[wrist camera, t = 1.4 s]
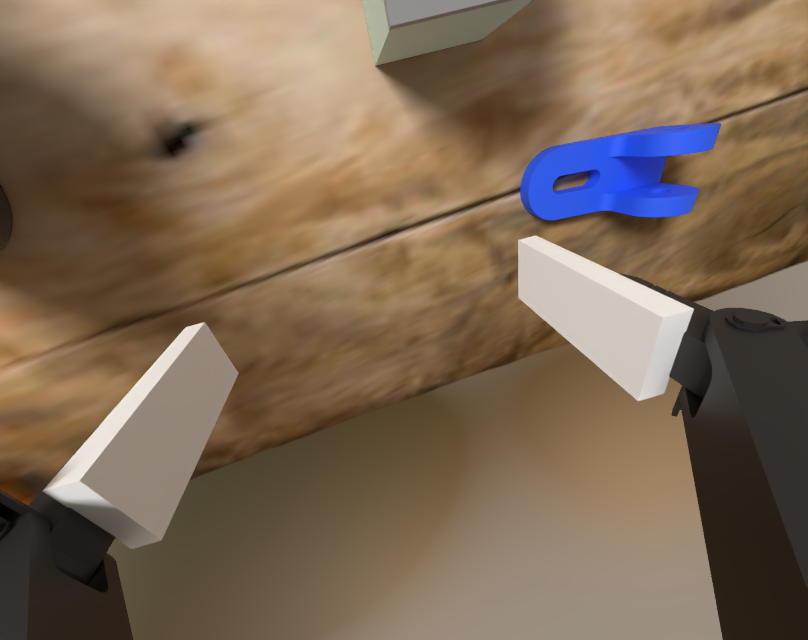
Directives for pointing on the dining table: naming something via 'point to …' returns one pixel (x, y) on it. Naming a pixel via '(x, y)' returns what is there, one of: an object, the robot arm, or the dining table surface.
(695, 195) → the bracket
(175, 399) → the robot arm
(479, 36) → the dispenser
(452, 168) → the dining table surface
